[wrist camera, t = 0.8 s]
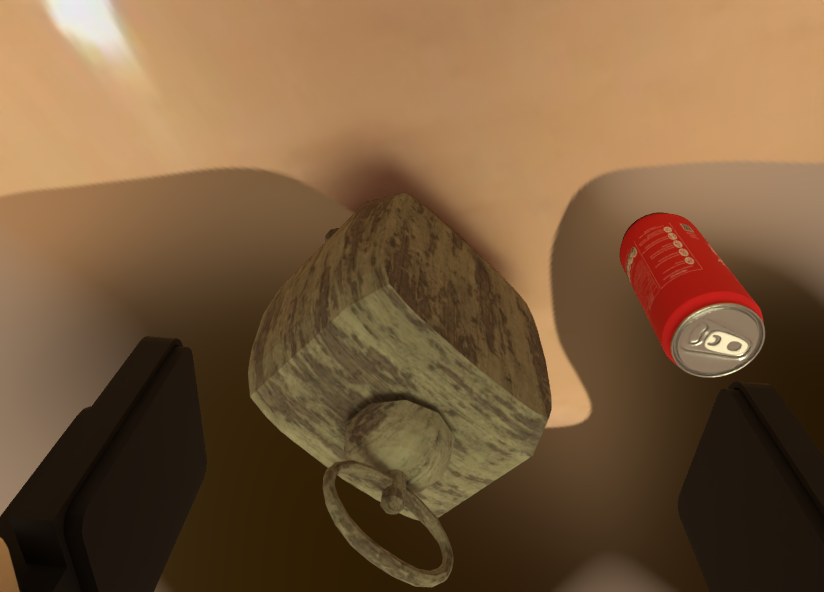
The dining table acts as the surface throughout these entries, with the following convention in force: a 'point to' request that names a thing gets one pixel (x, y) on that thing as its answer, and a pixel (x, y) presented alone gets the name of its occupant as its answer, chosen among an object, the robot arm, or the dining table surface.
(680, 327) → the beverage can
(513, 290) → the tabletop clock
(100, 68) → the dining table surface
